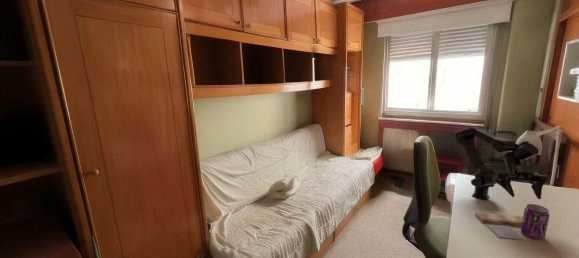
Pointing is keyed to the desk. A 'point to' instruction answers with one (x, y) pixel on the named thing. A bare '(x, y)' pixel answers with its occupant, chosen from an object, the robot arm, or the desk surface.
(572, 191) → the desk surface
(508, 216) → the tan flat block
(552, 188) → the desk surface
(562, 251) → the desk surface
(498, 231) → the slate mat
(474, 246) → the desk surface
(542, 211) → the beverage can
